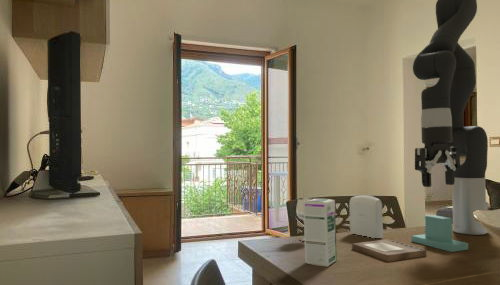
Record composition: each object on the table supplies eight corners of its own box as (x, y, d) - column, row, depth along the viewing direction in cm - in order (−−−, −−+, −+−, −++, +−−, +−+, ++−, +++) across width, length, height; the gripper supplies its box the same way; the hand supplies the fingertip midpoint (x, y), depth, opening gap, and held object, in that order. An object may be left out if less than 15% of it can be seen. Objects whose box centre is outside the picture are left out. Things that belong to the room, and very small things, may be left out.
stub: (427, 239, 113) (426, 212, 113) (468, 249, 101) (467, 219, 101) (411, 241, 111) (411, 214, 111) (451, 251, 99) (450, 221, 99)
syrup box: (328, 267, 87) (327, 201, 88) (303, 263, 90) (303, 200, 91) (337, 261, 92) (336, 199, 92) (313, 257, 95) (312, 197, 96)
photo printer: (347, 234, 121) (347, 194, 122) (356, 232, 124) (355, 193, 124) (377, 240, 113) (376, 197, 114) (385, 238, 116) (384, 196, 116)
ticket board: (388, 245, 107) (388, 238, 107) (426, 256, 95) (426, 249, 95) (352, 249, 103) (352, 242, 103) (387, 262, 91) (387, 254, 91)
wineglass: (294, 241, 112) (293, 199, 113) (299, 237, 118) (299, 197, 118) (314, 243, 110) (313, 200, 111) (318, 239, 116) (318, 198, 116)
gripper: (443, 126, 113) (445, 183, 113) (406, 126, 107) (408, 186, 107) (467, 124, 106) (469, 185, 106) (428, 125, 100) (430, 188, 100)
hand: (438, 185), depth 106 cm, fingers open, 8 cm apart
